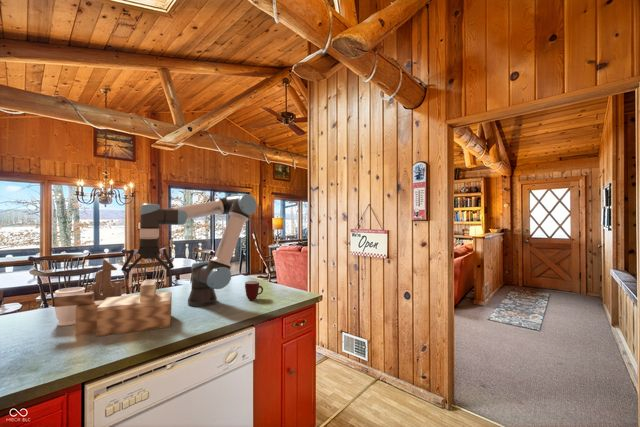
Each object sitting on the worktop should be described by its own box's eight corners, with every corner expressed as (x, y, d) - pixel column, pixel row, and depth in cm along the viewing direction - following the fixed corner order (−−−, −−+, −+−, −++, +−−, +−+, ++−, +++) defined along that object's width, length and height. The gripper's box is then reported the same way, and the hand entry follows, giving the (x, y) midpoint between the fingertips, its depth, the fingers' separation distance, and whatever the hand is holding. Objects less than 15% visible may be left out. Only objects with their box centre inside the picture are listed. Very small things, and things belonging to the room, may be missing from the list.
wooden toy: (84, 311, 148) (85, 261, 148) (86, 307, 153) (87, 259, 154) (120, 306, 156) (121, 259, 156) (121, 303, 161) (122, 258, 162)
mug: (259, 296, 178) (259, 279, 178) (265, 299, 172) (265, 282, 172) (242, 298, 172) (243, 281, 172) (247, 302, 166) (248, 284, 166)
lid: (171, 294, 142) (171, 277, 142) (170, 303, 128) (170, 284, 128) (106, 300, 131) (107, 281, 131) (97, 311, 117) (97, 290, 117)
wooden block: (94, 301, 125) (94, 291, 125) (91, 303, 121) (91, 294, 121) (58, 304, 119) (58, 294, 120) (54, 307, 116) (54, 297, 116)
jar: (48, 325, 128) (49, 290, 128) (75, 317, 138) (75, 285, 138) (63, 328, 124) (64, 293, 125) (90, 320, 134) (90, 287, 134)
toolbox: (171, 315, 142) (171, 291, 142) (169, 326, 128) (170, 300, 128) (84, 325, 128) (84, 299, 128) (71, 339, 113) (71, 310, 113)
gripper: (180, 237, 140) (179, 281, 140) (118, 237, 130) (116, 285, 129) (179, 238, 133) (178, 284, 133) (114, 238, 123) (112, 289, 122)
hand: (148, 285), depth 131 cm, fingers open, 13 cm apart
